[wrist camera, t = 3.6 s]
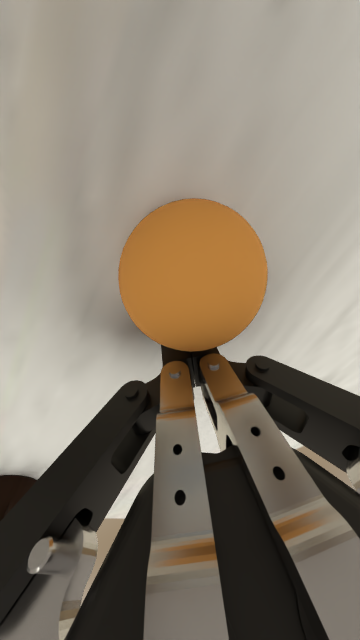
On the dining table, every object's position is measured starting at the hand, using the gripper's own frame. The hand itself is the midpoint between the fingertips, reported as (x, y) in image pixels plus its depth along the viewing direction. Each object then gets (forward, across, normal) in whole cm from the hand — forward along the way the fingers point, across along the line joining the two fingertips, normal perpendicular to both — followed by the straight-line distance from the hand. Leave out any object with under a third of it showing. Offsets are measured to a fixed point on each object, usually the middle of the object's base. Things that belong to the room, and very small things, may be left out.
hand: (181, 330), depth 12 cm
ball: (-2, -1, -4) cm, 5 cm away
